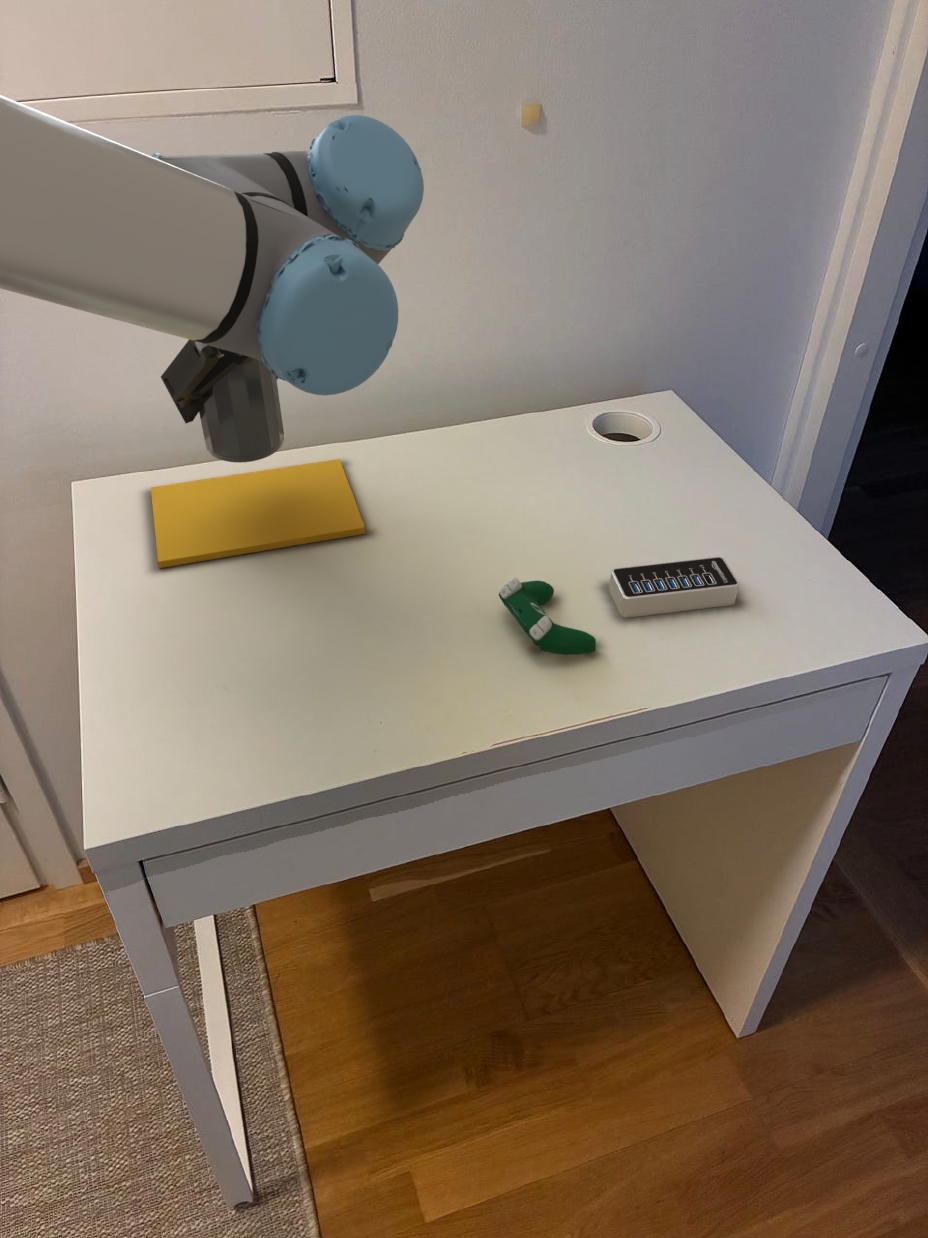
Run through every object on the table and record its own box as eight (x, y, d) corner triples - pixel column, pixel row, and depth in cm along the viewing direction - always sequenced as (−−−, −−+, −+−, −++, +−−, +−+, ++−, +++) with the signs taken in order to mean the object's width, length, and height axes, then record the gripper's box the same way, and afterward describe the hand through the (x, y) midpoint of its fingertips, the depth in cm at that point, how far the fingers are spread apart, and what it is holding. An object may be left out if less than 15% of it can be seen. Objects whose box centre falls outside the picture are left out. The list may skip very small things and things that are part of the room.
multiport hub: (607, 587, 90) (609, 568, 88) (718, 574, 91) (722, 555, 90) (621, 618, 86) (624, 599, 85) (736, 604, 88) (741, 585, 86)
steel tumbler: (210, 467, 89) (190, 368, 82) (202, 428, 94) (183, 331, 87) (289, 455, 90) (276, 357, 84) (278, 417, 96) (264, 322, 89)
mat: (159, 568, 91) (157, 561, 91) (152, 493, 100) (150, 487, 100) (365, 533, 96) (365, 527, 95) (340, 464, 105) (339, 458, 104)
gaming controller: (524, 613, 90) (484, 590, 85) (551, 583, 89) (512, 559, 84) (574, 676, 83) (533, 656, 79) (603, 645, 82) (564, 623, 78)
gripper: (202, 368, 67) (142, 468, 87) (424, 290, 78) (326, 395, 97) (150, 271, 67) (101, 394, 87) (381, 205, 77) (290, 328, 97)
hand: (220, 395), depth 92 cm, fingers closed on steel tumbler, 7 cm apart
